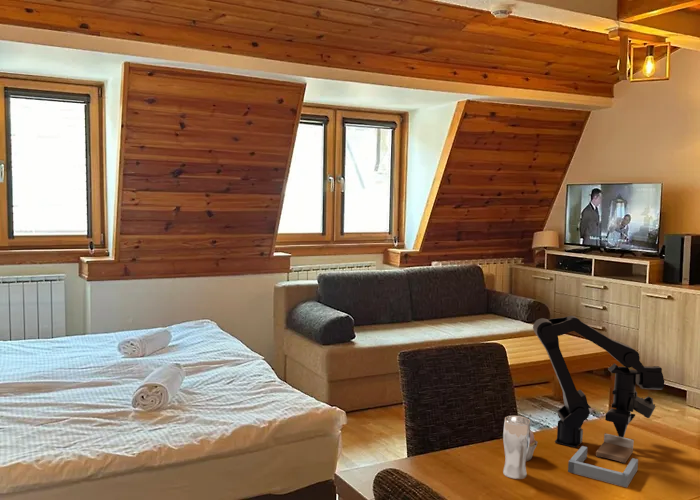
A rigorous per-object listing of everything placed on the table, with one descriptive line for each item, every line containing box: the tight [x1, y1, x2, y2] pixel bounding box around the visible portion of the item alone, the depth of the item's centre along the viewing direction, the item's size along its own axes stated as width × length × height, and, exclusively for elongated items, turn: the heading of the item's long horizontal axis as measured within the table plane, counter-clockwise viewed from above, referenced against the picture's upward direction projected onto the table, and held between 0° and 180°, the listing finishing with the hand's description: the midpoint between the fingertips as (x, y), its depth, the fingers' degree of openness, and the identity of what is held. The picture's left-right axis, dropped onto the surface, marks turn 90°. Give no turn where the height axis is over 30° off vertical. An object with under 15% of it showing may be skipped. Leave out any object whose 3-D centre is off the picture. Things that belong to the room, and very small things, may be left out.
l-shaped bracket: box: [595, 433, 635, 464], centre depth 182 cm, size 8×10×4 cm
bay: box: [567, 445, 639, 488], centre depth 171 cm, size 15×14×3 cm
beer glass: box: [502, 415, 531, 480], centre depth 167 cm, size 7×7×15 cm
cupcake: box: [526, 429, 538, 462], centre depth 179 cm, size 9×9×10 cm
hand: (621, 437), depth 189 cm, fingers closed
